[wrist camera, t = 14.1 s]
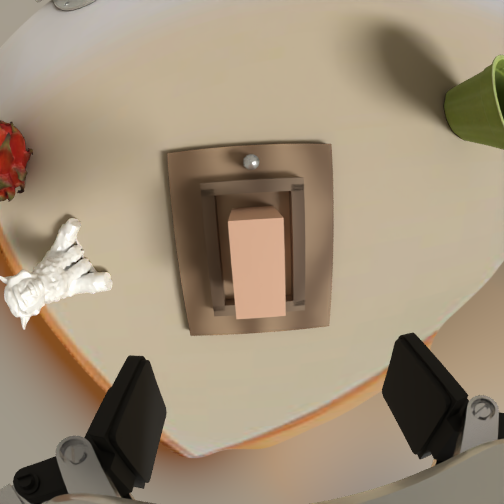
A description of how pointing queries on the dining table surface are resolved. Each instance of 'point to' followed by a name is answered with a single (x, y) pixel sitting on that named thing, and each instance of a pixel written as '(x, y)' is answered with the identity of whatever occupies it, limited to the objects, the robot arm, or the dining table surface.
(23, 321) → the seated beast figurine
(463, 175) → the dining table surface
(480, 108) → the plant pot
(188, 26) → the dining table surface
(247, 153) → the board
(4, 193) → the dragon fruit
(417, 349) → the robot arm
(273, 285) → the key block
